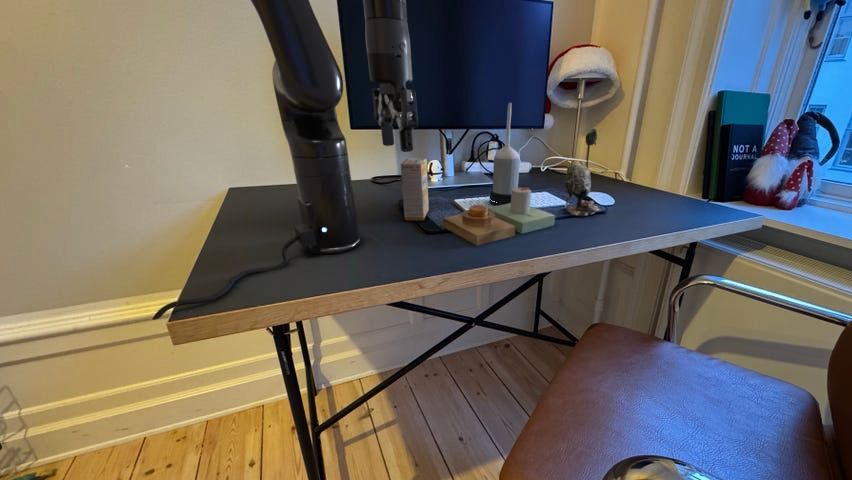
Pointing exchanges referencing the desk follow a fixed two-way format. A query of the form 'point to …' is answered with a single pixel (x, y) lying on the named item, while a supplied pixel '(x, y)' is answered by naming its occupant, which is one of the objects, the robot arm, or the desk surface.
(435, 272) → the desk surface
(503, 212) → the green base plate
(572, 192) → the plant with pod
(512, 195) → the dimmer knob
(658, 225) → the desk surface
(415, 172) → the supplement box
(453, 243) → the desk surface
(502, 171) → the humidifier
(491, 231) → the lamp base
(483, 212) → the light button
